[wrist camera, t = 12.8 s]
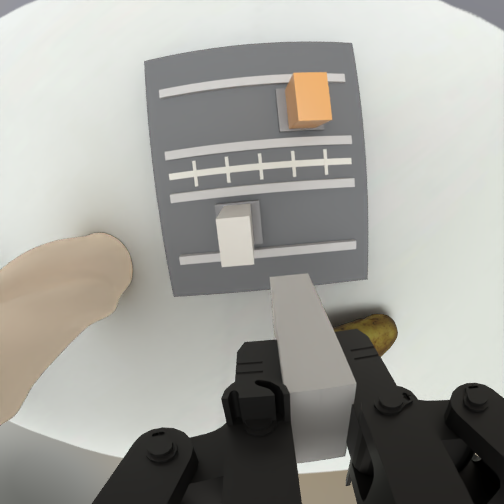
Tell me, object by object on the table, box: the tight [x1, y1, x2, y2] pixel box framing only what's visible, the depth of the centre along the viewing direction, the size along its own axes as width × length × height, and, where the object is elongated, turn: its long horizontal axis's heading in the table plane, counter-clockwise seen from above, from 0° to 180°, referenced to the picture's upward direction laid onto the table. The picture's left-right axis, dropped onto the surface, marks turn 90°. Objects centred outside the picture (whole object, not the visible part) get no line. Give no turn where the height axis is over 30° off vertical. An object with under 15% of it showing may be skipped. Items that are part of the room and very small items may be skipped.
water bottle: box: [0, 233, 133, 425], centre depth 20 cm, size 10×9×28 cm
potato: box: [333, 314, 398, 357], centre depth 32 cm, size 8×13×8 cm, turn 88°
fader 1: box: [215, 199, 263, 267], centre depth 26 cm, size 4×4×7 cm
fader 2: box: [275, 72, 332, 132], centre depth 23 cm, size 4×4×7 cm
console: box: [144, 42, 368, 297], centre depth 29 cm, size 20×24×3 cm
